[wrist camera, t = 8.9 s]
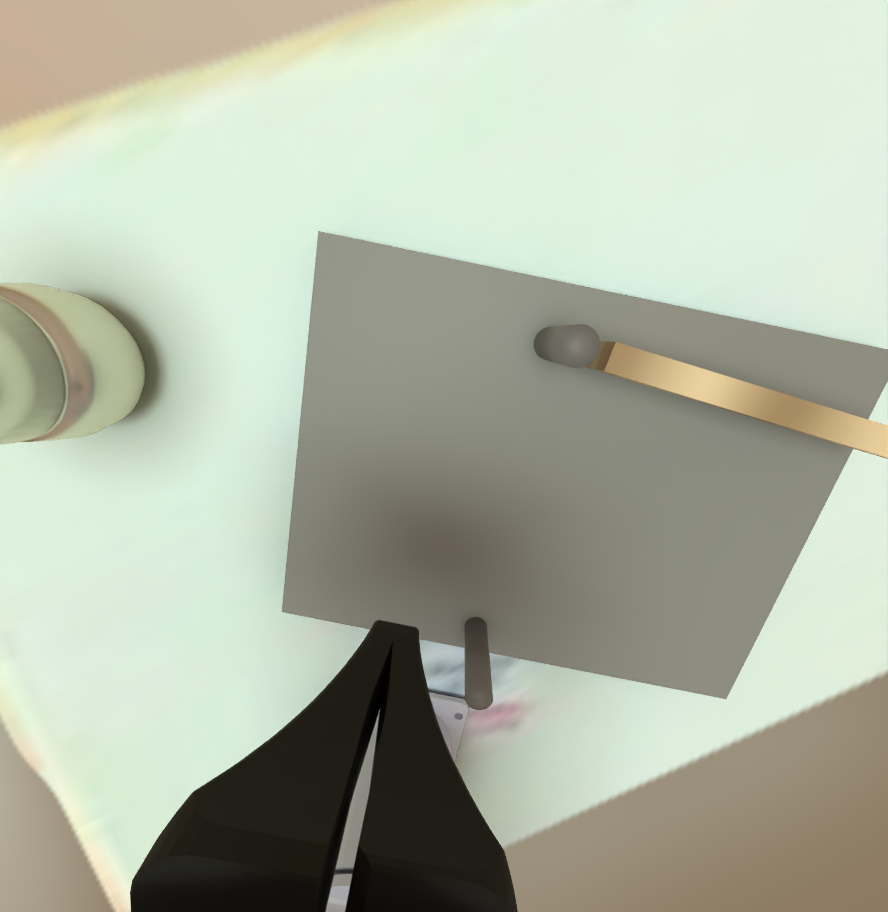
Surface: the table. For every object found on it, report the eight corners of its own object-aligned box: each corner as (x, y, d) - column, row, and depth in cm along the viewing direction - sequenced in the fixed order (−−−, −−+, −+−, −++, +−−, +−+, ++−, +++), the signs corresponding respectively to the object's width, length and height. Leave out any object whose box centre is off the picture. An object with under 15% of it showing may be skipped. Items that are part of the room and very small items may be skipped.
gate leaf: (859, 425, 18) (967, 450, 14) (846, 446, 18) (949, 476, 14) (582, 340, 17) (616, 342, 14) (573, 363, 18) (604, 371, 14)
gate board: (713, 681, 24) (789, 786, 18) (290, 598, 24) (237, 679, 18) (874, 351, 18) (1051, 358, 13) (327, 237, 18) (267, 194, 13)
